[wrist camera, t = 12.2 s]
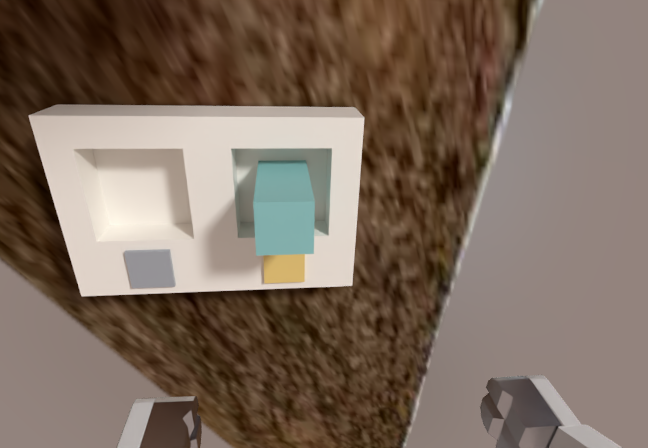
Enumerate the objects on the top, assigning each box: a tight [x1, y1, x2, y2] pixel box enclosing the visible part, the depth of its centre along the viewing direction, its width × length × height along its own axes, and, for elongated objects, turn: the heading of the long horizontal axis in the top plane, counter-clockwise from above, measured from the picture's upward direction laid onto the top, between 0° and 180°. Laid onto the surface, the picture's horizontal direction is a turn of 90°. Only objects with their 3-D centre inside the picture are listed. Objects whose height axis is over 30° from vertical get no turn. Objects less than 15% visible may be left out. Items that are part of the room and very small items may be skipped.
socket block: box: [28, 105, 364, 296], centre depth 29 cm, size 13×20×4 cm, turn 88°
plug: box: [253, 160, 315, 256], centre depth 26 cm, size 3×3×8 cm
